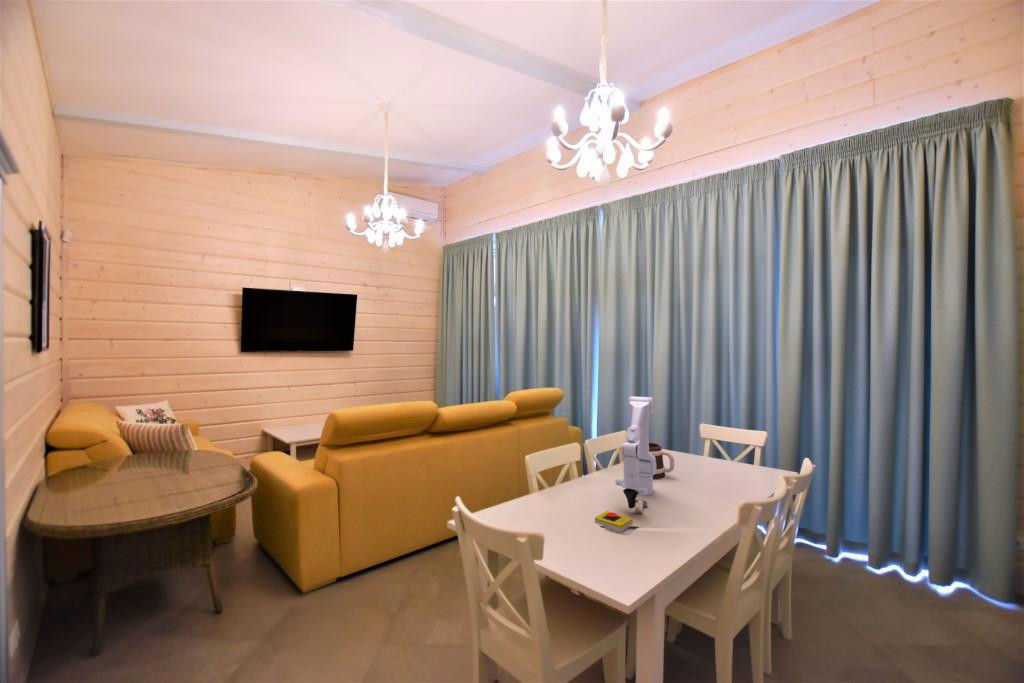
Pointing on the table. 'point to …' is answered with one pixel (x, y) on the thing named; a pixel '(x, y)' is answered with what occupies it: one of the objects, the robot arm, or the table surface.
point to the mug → (660, 460)
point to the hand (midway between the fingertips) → (631, 507)
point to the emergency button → (616, 522)
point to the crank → (640, 505)
